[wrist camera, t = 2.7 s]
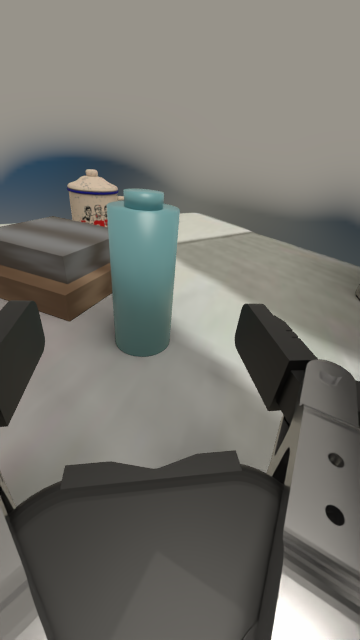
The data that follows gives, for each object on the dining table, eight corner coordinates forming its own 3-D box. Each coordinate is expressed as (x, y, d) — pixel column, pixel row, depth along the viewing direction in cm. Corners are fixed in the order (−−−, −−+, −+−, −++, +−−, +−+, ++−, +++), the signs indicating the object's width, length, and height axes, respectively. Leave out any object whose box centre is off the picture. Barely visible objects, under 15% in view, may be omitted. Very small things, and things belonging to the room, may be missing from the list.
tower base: (61, 250, 43) (55, 212, 40) (144, 270, 39) (145, 230, 36) (-38, 285, 31) (-59, 234, 28) (69, 321, 26) (59, 266, 23)
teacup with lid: (80, 244, 47) (70, 171, 41) (68, 231, 53) (59, 166, 47) (140, 239, 53) (140, 174, 46) (123, 227, 59) (121, 169, 53)
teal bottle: (133, 318, 28) (131, 184, 21) (177, 332, 26) (191, 193, 19) (104, 345, 24) (89, 189, 17) (154, 363, 22) (161, 201, 15)
